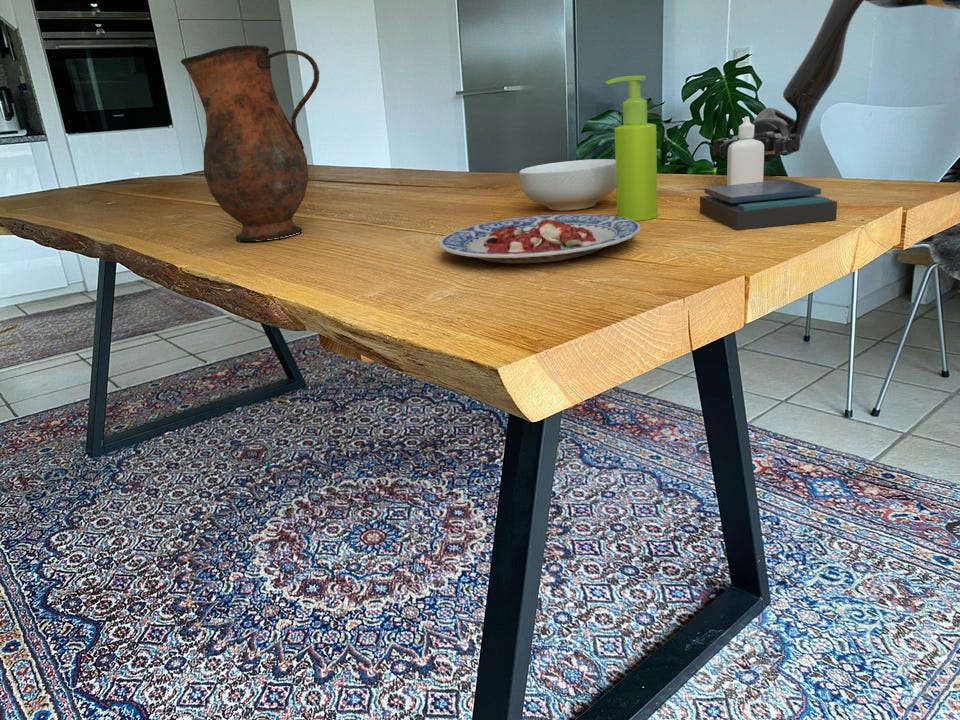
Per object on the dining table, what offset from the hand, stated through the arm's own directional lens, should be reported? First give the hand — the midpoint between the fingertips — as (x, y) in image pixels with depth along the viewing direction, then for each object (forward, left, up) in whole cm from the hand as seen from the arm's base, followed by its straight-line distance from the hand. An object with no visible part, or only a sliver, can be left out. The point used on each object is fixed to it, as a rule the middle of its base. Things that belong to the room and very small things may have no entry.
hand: (750, 148), depth 125 cm
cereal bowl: (+31, +2, -7) cm, 32 cm away
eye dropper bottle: (+2, +4, -7) cm, 8 cm away
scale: (+8, +27, -7) cm, 29 cm away
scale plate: (+8, +25, -4) cm, 27 cm away
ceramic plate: (+40, +34, -7) cm, 53 cm away
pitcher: (+81, +1, -7) cm, 81 cm away
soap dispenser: (+24, +18, -7) cm, 31 cm away
